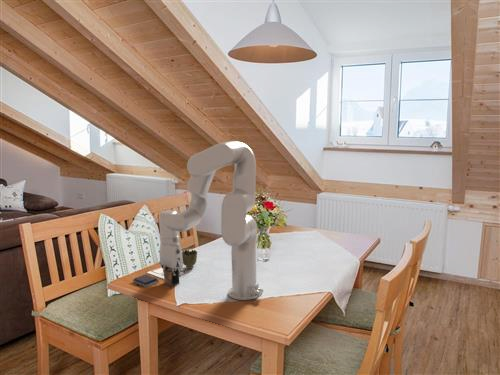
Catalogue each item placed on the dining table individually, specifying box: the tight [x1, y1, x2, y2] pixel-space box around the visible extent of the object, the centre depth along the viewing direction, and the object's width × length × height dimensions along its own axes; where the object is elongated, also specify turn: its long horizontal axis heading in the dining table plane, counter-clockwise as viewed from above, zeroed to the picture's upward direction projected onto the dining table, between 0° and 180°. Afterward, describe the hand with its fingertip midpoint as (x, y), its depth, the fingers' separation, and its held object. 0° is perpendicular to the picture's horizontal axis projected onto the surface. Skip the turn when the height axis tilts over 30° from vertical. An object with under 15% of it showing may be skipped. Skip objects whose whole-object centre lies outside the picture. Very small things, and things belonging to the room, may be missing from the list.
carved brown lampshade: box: [182, 249, 198, 270], centre depth 195 cm, size 8×7×8 cm
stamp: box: [163, 267, 180, 287], centre depth 177 cm, size 4×4×7 cm
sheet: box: [146, 266, 185, 280], centre depth 190 cm, size 14×10×1 cm
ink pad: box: [132, 273, 160, 288], centre depth 179 cm, size 9×7×2 cm
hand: (171, 281), depth 178 cm, fingers closed on stamp, 4 cm apart
